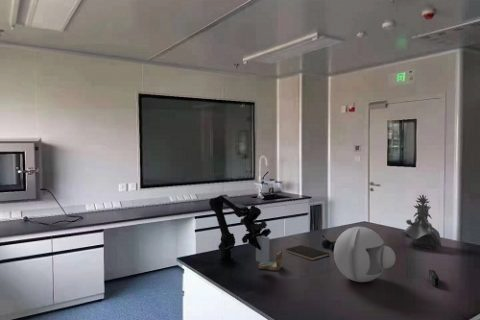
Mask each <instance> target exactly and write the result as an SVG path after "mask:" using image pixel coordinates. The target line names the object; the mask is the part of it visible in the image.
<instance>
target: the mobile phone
mask: <svg viewBox="0 0 480 320" xmlns="http://www.w3.org/2000/svg"><path fill="white" fill-rule="evenodd" d="M439 277H440V276H439V275H438V274H437V272H436V271H435V270H434V269H429V270H428V278H429V279H430V281H431V284H432V286H434V287H437V289H439V290H440V288H441V287H440V278H439Z"/></svg>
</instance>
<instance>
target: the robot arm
mask: <svg viewBox="0 0 480 320" xmlns="http://www.w3.org/2000/svg"><path fill="white" fill-rule="evenodd" d="M208 204H209V206H210V209H211V210H212V211H213V212H214V214H215V218H216V220H217V224H218V226H219V231H220V233H221V235H220V243H219V244H218V246H217V248H218V250H219V251H220V258H219V260H222V261H230V260H232V259H233V258H234V256H233V255H234V254H233V253H234V252H233V249H235V244H236V238H235V235H234V233H231V232H230V230H229V226H228V223H227V219H226V217H225V214H224V210H223V209H224V206H225V205H226V206H227V207H228V208H230V210H232V211H233V213H234V215H235V216H236V217H237V218H241V219H240V224H243V225H244V227H245V228H246V229H245V232H247V233H245V234H244V235H243V236H242V238H241V241H242V244H249V245H251V246H253V247H254V248H255V249H256V248H257V249H259V250H261V247H260V245H259V243H258V241H257V237H260V236H266V237H269V235H270V234H271V233H272V230H271V229H270V228H267V226H268V224H267V222H266V221H265V220H263V221H261V222H260V223H257V222H255V221H256V220H257V219H258V218H259V216H261V214H262V211H261V209H260V208H259V207H257V206H255V205H251V206H250V208H249V207H248V206H246V205H244V204H240V203H238V202H236V201H235V200H233V198H231V197H230V196H228V194H220V195H219V196H217V197H211V198H210V199H209V201H208ZM224 204H225V205H224ZM242 217H243V218H242Z"/></svg>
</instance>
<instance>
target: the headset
mask: <svg viewBox="0 0 480 320" xmlns="http://www.w3.org/2000/svg"><path fill="white" fill-rule="evenodd" d="M321 236H322V237H323V238H324V239H323V240H322V241H321V247H322V248H325V249H326V248H327V249H328V248H329V249H330V250H331V251H333V252H334V246H335V243H336V241H330V240H329V239H327V238H326V237H325V236H324V235H323V234H322V235H321Z"/></svg>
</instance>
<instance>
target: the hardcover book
mask: <svg viewBox="0 0 480 320" xmlns="http://www.w3.org/2000/svg"><path fill="white" fill-rule="evenodd" d="M285 252H287V253H289V254H293V255H295V256H298V257H301V258H304V259H307V260H310V261H314V260H317V259H320V258H324V257H327V256H330V254H329V252H325V251H323V250H321V249H316V248H313V247H310V246H306V245H304V244H300V245H296V246H292V247H288V248H285Z"/></svg>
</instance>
